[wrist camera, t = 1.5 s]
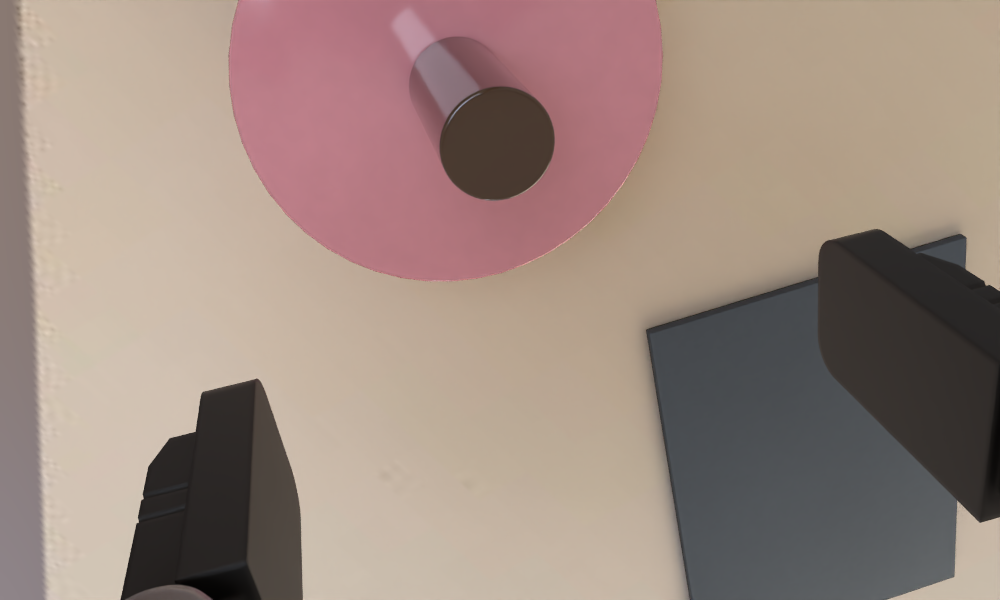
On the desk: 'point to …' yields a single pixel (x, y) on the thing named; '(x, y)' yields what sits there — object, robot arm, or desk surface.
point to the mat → (790, 461)
